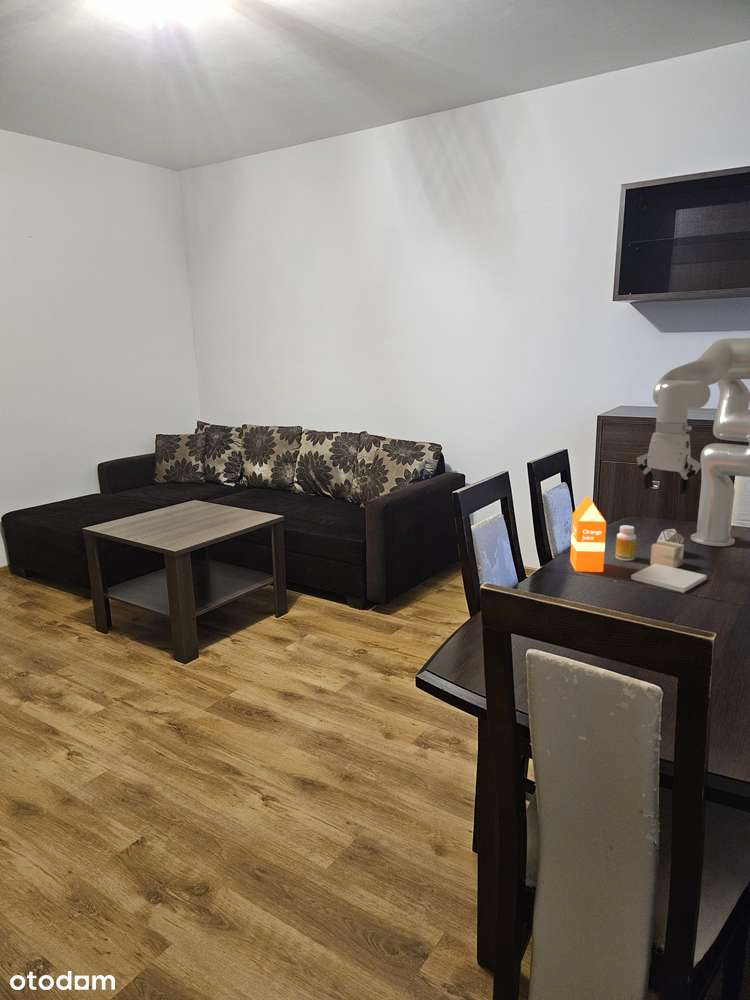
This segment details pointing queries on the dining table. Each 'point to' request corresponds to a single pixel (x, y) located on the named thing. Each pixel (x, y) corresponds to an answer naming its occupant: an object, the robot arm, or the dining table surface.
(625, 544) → the supplement bottle
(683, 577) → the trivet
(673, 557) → the beech block
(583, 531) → the orange juice
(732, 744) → the dining table surface
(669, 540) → the game die
